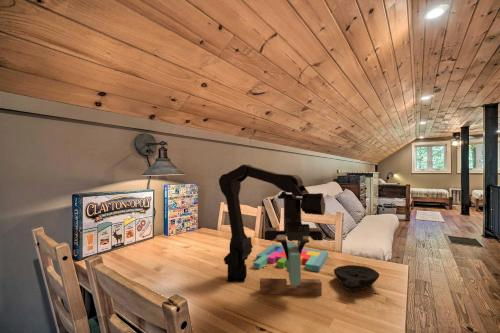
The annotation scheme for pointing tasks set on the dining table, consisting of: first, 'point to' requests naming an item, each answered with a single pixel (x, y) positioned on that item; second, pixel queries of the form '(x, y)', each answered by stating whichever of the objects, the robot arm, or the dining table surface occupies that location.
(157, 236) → the dining table surface
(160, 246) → the dining table surface
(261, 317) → the dining table surface
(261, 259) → the tetris game
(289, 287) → the walnut rail
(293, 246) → the teal plate
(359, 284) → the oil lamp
